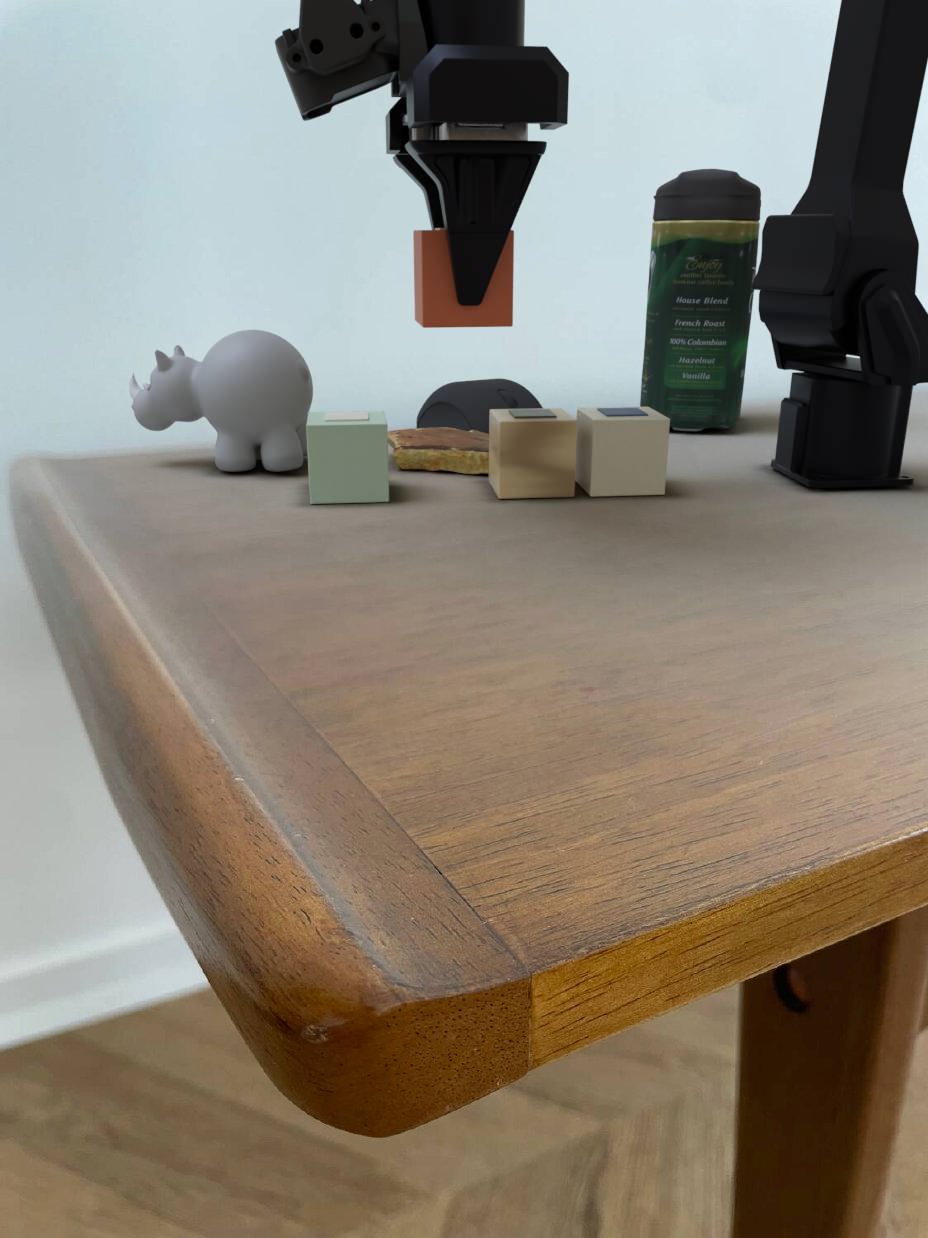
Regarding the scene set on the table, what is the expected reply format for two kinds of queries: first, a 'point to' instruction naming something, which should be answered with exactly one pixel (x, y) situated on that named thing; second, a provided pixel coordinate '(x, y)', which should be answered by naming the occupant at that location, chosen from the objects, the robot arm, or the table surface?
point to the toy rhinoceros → (235, 399)
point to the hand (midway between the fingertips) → (462, 302)
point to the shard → (441, 449)
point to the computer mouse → (473, 403)
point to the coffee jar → (700, 298)
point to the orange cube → (438, 287)
